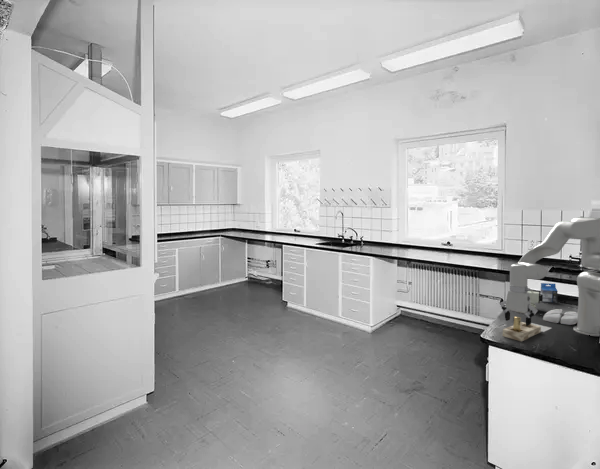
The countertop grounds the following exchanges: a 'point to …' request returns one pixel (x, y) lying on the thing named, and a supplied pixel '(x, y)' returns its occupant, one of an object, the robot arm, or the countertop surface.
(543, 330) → the rubber mat
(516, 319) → the brass peg
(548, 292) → the label tape cartridge
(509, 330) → the hole block
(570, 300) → the countertop surface
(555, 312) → the lung model
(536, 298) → the pneumatic valve
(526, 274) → the robot arm
